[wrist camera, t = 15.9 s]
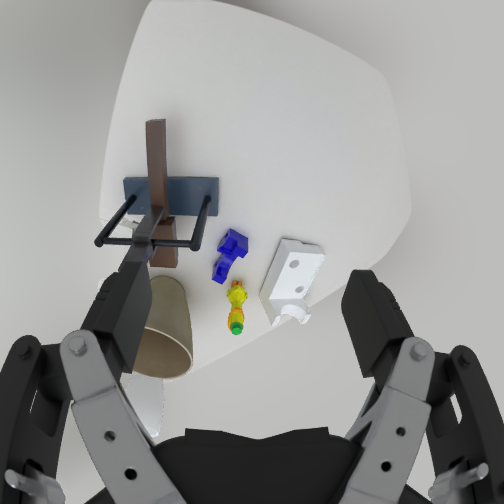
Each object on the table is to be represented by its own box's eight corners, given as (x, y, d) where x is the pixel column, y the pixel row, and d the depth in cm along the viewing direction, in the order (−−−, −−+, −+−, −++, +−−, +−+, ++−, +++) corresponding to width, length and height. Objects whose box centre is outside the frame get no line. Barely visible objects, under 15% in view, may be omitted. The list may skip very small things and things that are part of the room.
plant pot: (168, 246, 47) (144, 312, 34) (217, 299, 55) (211, 367, 42) (116, 279, 51) (88, 340, 38) (163, 324, 59) (149, 385, 46)
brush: (173, 118, 30) (129, 143, 18) (179, 256, 42) (158, 329, 30) (143, 120, 30) (85, 147, 18) (154, 255, 42) (127, 326, 30)
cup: (128, 343, 63) (107, 418, 45) (165, 344, 63) (150, 424, 45) (142, 366, 69) (127, 434, 51) (177, 367, 69) (167, 439, 51)
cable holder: (230, 228, 46) (228, 241, 43) (247, 238, 47) (248, 251, 44) (206, 261, 49) (203, 275, 46) (223, 270, 51) (221, 284, 47)
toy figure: (242, 299, 55) (243, 348, 45) (224, 297, 54) (221, 346, 45) (248, 273, 51) (250, 322, 41) (229, 270, 51) (226, 320, 41)
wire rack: (125, 177, 40) (82, 221, 28) (218, 177, 41) (207, 223, 29) (129, 211, 43) (93, 263, 31) (218, 213, 44) (208, 269, 32)
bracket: (290, 295, 56) (305, 323, 50) (258, 295, 53) (271, 325, 47) (316, 242, 49) (337, 269, 43) (282, 238, 46) (300, 268, 41)
